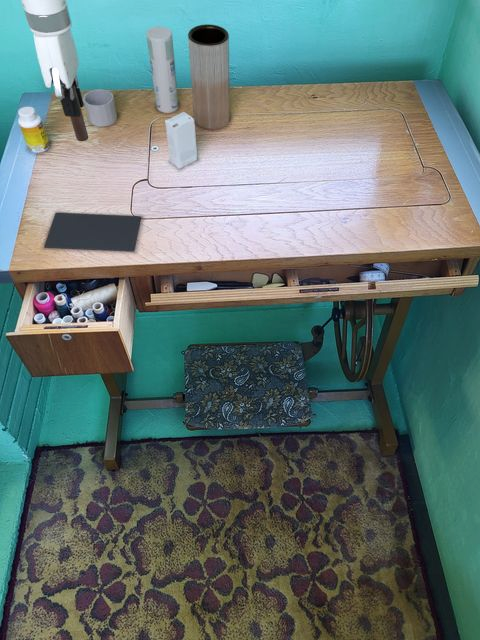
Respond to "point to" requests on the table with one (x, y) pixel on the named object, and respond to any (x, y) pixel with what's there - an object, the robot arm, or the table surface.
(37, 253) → the table surface
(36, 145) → the supplement bottle
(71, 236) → the felt mat
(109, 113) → the tin
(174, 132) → the cosmetic box
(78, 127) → the walnut stick
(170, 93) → the spray can
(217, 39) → the planter
